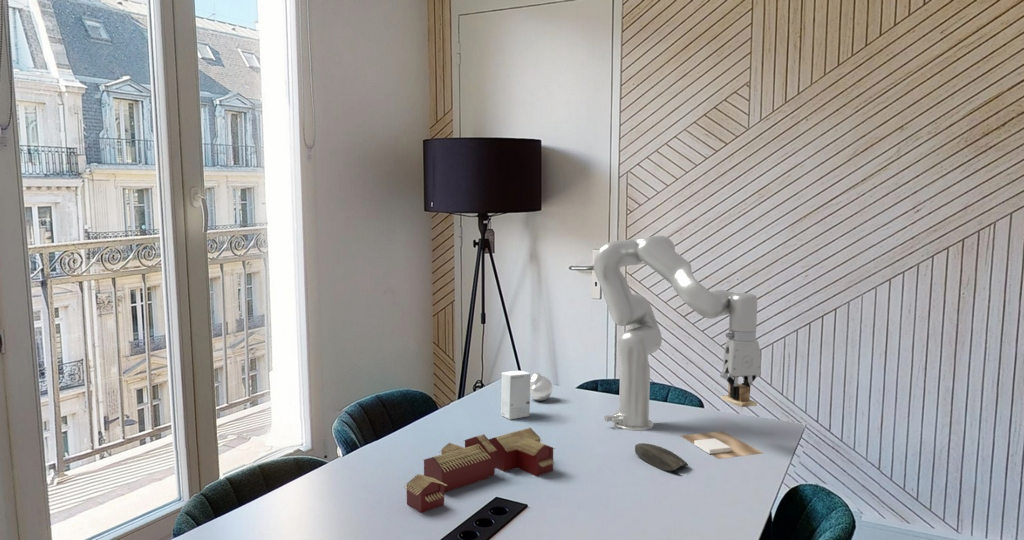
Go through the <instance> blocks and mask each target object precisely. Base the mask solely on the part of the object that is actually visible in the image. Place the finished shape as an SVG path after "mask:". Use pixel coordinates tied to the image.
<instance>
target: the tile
mask: <svg viewBox="0 0 1024 540" xmlns="http://www.w3.org/2000/svg"><path fill="white" fill-rule="evenodd" d="M693 445H694V446H695V447H697V448H699V450H700V449H701V450H702V451H703V452H705V453H707V454H709V455H711V454H715V453H723V452H730V451H731V447H729V446H728V445H726V444H724V443H722V442H721V441H719V440H717V439H715V438H713V439H703V440H694V444H693Z"/></svg>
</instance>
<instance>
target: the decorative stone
mask: <svg viewBox="0 0 1024 540" xmlns="http://www.w3.org/2000/svg"><path fill="white" fill-rule="evenodd" d="M634 452H635V455H637V456H638V457H639V459H641V460H642V461H644V462H646V463H647V464H648V465H650V466H653V467H654V468H656V469H659V470H661V471H664V472H673V471H676V470H677V469H679V468H681V467H688V466H689V463H687V462H686V461H685V460H684V459H683V458H682V457H680V455H677V454H676V453H674V452H673V451H671V450H669V449H667V448H665V447H661V446H658V445H654V444H650V443H641V442H640V443H637V444H635V446H634Z"/></svg>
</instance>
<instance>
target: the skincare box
mask: <svg viewBox="0 0 1024 540" xmlns="http://www.w3.org/2000/svg"><path fill="white" fill-rule="evenodd" d="M530 377H531V373H530V372H527V371H524V370H510V371H504V372H501V381H500V382H501V386H500V387H501V390H500V391H501V392H500V394H501V395H500V397H501V399H500V415H501V416H502V417H504V418H505V419H507V420H509V421H510V420H516V419H521V418H526V417H530V414H531V413H530V412H531V411H530V410H531V409H530V408H531V404H530V403H531V395H530Z"/></svg>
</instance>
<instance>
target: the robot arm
mask: <svg viewBox="0 0 1024 540" xmlns="http://www.w3.org/2000/svg"><path fill="white" fill-rule="evenodd" d="M636 265H647V266H648V267H650V268H651V269H652V270H653V271H655V272H656V274H658V275H659V276H661V278H663V279H664V280H665V281H666V282H667V283H668V284H670V285H671V286H672V288H673V290H674V292H675V293H676V294H677V295H678V297H679V299H681V300H682V301H683V303H684V304H686V305H687V306H688V307H689V308H690V309H691V310H693V311H694V312H695V313H696V314H698V315H699V316H701V317H703V318H706V319H710V320H712V319H713V320H714V319H717V318H719V317H723V316H728V315H729V316H728V317H729V319H728V332H726V333H725V338H728V339H726V343H725V345H724V346H725V347H724V352H723V363H722V371H721V373H720V375H719V376H720V378H722V379H723V380H725V381H727V383H728V385H729V384H730V397H731V398H733V399H735V400H738V399H739V386H737V385H738V383H739V377H742V380H743V382H742V383H741V384H742V385H744V386H747V387H750V388H751V386H752V385H753V383H754V381H755V380H756V378H757V379H758V377H759V376H761V375H762V371H761V369H762V368H761V367H762V363H761V360H762V359H761V349H760V344H759V340H757V322H758V319H757V318H758V317H757V316H758V298H757V295H755V294H753V293H748V292H732V291H729V290H725V289H718V290H717V289H716V290H714V291H710V290H709V289H708V288H706V286H704V285H703V284H701V283H700V281H698V280H697V279H696V278H695V276H694V275H693V271H692V265H691V263H690V262H689V261H688V260H687V259H686V258H684V257H683V256H682V255H681V254H679V253H678V252H676V248H675V243H674V241H672V239H670V238H669V237H667V236H664V235H652V236H648V237H643V238H633V239H621V240H619V239H618V240H612V241H609V242H607V243H605V244H604V245H602V246H601V247H600V248H599V249H598V250H597V252H596V254H595V257H594V261H593V269H594V273H595V276H596V278H597V281H598V284H599V286H600V288H601V292H602V294H603V297H604V300H605V304H606V306H607V308H608V311H609V313H610V314H609V315H610V317H611V319H612V320H613V322H614V323H615V324H616V325H617V326H620V327H626V326H629V328H630V329H627V330H626V331H625V332H623V333H622V334H621V335H620V337H619V339H618V341H617V352H618V359H619V392H618V393H619V394H618V395H619V397H618V399H619V400H618V402H619V403H618V410H616V411H615V413H613V415H612V414H609V415H606V414H605V416H604V421H605V422H606V423H607V422H611V423H612V424H613V425H614V428H618V429H621V430H625V431H632V432H641V431H648V430H651V429H653V428H654V426H655V425H654V422H653V421H652V420H650V389H651V388H650V387H651V367H650V362H649V355H652V354H654V353H655V352H657V351H658V350H659V349H660V347H661V346H662V341H663V338H662V333H661V329H660V327H659V324H658V321H657V318H656V316H655V314H654V311H653V308H652V306H651V304H650V302H649V300H648V299H647V298H646V297H645V296H643V295H641V294H638V293H632V291H631V288H630V285H629V283H628V281H627V278H626V277H625V276H624V274H623V273H622V271H621V268H623V267H630V266H636Z"/></svg>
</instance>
